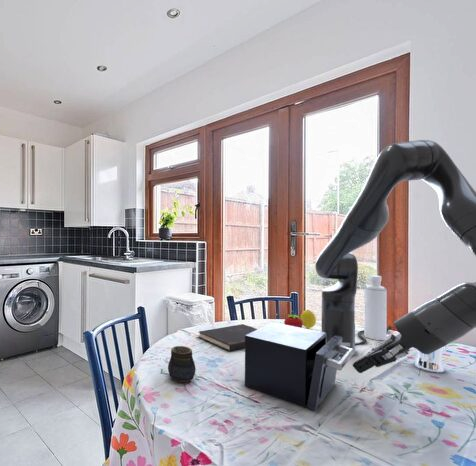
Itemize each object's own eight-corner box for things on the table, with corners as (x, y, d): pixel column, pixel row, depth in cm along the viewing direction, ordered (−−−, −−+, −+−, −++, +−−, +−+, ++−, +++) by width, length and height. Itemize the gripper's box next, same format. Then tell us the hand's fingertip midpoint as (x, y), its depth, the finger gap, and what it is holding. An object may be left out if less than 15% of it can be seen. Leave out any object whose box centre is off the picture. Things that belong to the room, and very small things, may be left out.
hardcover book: (198, 337, 118) (198, 331, 118) (242, 329, 129) (242, 324, 129) (229, 351, 104) (230, 344, 104) (277, 341, 114) (277, 335, 114)
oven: (326, 381, 83) (326, 332, 83) (305, 408, 71) (305, 350, 71) (271, 365, 93) (271, 321, 93) (244, 386, 80) (245, 335, 81)
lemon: (318, 331, 127) (318, 311, 127) (303, 330, 128) (303, 310, 128) (312, 327, 133) (312, 308, 133) (298, 326, 134) (298, 307, 134)
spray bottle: (368, 339, 118) (369, 272, 118) (361, 333, 124) (361, 270, 124) (390, 341, 116) (390, 273, 116) (381, 335, 122) (381, 271, 122)
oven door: (349, 390, 80) (357, 342, 79) (331, 419, 67) (341, 362, 66) (327, 381, 83) (335, 335, 82) (306, 407, 70) (315, 353, 69)
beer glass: (406, 363, 96) (406, 314, 96) (427, 363, 96) (427, 313, 96) (430, 373, 89) (430, 320, 89) (453, 373, 89) (453, 320, 89)
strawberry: (306, 337, 120) (306, 311, 120) (295, 340, 115) (295, 313, 116) (291, 333, 125) (291, 307, 125) (280, 336, 120) (280, 310, 120)
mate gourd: (197, 375, 86) (197, 339, 86) (193, 388, 79) (193, 348, 79) (170, 371, 89) (171, 336, 89) (165, 383, 82) (165, 345, 82)
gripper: (415, 305, 69) (348, 346, 78) (411, 315, 60) (335, 361, 68) (450, 334, 65) (375, 375, 74) (451, 350, 56) (365, 394, 65)
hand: (356, 368), depth 71 cm, fingers closed
